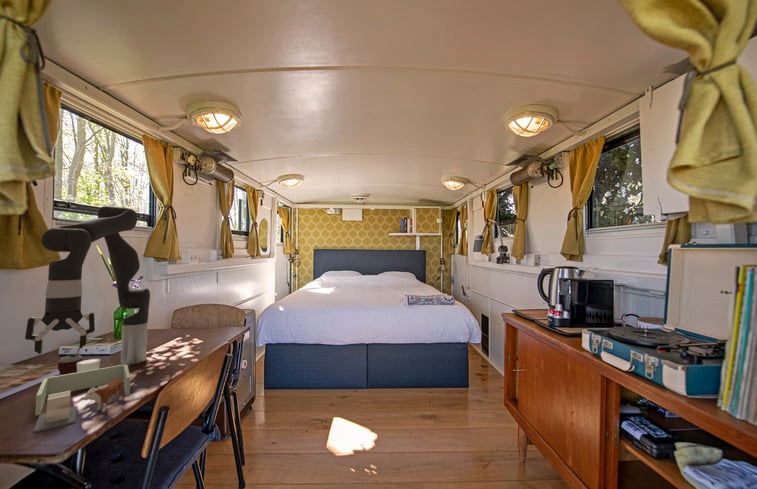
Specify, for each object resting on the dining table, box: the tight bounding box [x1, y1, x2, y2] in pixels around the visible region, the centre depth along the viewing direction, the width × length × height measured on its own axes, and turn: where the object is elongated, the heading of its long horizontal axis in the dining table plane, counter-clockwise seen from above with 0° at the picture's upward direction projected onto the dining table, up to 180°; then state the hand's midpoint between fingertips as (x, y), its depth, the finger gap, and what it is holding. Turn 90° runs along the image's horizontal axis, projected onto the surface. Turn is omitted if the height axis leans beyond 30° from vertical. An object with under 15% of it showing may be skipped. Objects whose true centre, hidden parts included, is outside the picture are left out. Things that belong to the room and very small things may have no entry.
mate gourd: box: [57, 334, 91, 375], centre depth 124 cm, size 8×8×15 cm
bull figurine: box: [83, 378, 124, 413], centre depth 98 cm, size 4×13×8 cm, turn 4°
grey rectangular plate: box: [33, 405, 78, 434], centre depth 90 cm, size 12×8×1 cm, turn 42°
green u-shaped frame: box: [34, 364, 131, 417], centre depth 106 cm, size 18×22×6 cm
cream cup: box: [77, 358, 101, 372], centre depth 120 cm, size 7×7×7 cm
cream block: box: [45, 390, 72, 423], centre depth 91 cm, size 5×5×6 cm
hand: (61, 350), depth 91 cm, fingers open, 8 cm apart
